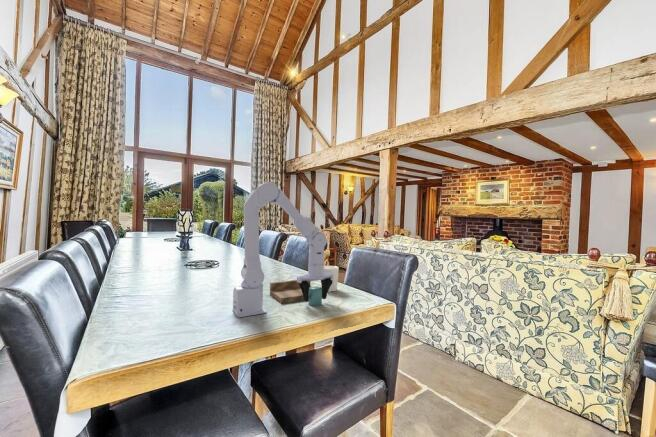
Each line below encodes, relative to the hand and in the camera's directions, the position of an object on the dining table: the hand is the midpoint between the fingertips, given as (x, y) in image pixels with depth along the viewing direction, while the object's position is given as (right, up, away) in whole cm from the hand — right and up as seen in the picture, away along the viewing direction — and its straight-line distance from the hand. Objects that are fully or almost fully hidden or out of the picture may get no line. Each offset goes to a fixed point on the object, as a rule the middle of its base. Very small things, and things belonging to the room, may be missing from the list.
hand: (315, 299), depth 106 cm
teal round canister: (0, -2, 0) cm, 2 cm away
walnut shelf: (-8, -1, +9) cm, 12 cm away
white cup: (+5, -2, +20) cm, 21 cm away
